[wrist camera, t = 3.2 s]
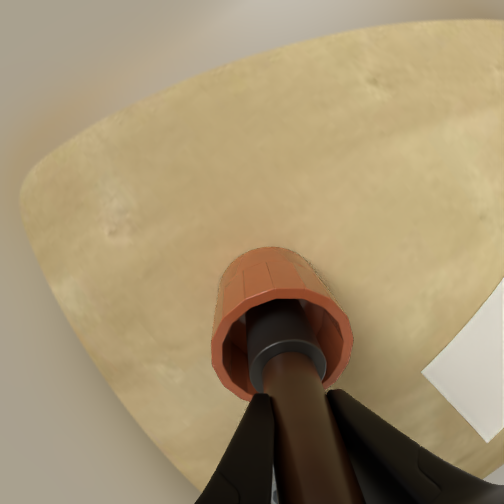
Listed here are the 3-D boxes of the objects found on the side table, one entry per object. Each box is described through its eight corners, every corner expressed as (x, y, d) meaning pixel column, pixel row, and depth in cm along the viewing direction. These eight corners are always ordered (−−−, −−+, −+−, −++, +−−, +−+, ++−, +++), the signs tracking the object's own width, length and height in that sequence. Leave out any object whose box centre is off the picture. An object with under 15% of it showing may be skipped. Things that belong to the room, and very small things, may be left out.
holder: (218, 338, 17) (213, 406, 12) (218, 245, 16) (210, 286, 10) (312, 338, 17) (340, 402, 12) (323, 247, 16) (363, 287, 11)
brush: (244, 344, 14) (262, 591, 4) (246, 291, 13) (273, 563, 3) (301, 343, 14) (378, 571, 4) (307, 291, 14) (427, 530, 3)
